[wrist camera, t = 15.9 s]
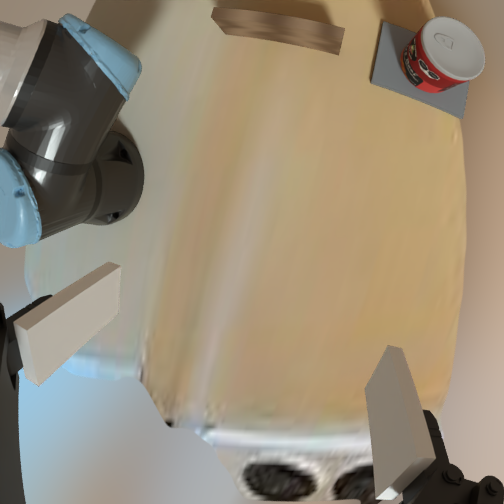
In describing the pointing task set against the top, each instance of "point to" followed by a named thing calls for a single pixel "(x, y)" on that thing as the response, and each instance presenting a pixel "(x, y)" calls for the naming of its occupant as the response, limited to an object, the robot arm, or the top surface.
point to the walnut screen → (279, 28)
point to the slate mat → (394, 79)
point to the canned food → (442, 55)
